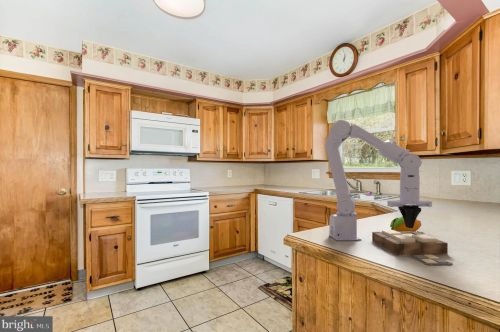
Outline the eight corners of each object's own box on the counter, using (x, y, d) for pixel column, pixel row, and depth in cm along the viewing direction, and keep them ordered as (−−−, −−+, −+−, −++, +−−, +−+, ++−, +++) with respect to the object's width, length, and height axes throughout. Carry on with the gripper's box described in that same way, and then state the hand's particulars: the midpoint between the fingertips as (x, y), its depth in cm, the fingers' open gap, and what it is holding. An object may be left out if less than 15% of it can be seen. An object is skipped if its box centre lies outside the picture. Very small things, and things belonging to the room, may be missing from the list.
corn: (385, 216, 98) (409, 211, 109) (384, 235, 99) (408, 228, 110) (405, 220, 92) (429, 214, 103) (404, 241, 92) (427, 233, 104)
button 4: (421, 245, 78) (421, 238, 78) (411, 240, 83) (411, 234, 83) (435, 244, 79) (435, 238, 79) (424, 240, 83) (424, 234, 83)
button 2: (401, 245, 78) (401, 238, 78) (392, 241, 82) (392, 235, 82) (415, 245, 78) (415, 238, 78) (406, 241, 83) (405, 234, 83)
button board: (396, 255, 76) (396, 243, 76) (372, 241, 90) (372, 232, 90) (447, 254, 77) (447, 243, 77) (415, 241, 91) (415, 231, 91)
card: (427, 265, 69) (427, 263, 69) (410, 256, 76) (410, 254, 76) (452, 265, 69) (452, 262, 69) (432, 256, 76) (432, 254, 76)
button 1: (389, 239, 84) (389, 233, 84) (381, 235, 89) (381, 230, 89) (402, 239, 85) (402, 233, 85) (393, 235, 89) (393, 230, 89)
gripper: (396, 189, 83) (396, 230, 83) (439, 189, 83) (438, 230, 83) (383, 187, 90) (383, 225, 90) (423, 187, 91) (423, 225, 91)
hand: (409, 227), depth 87 cm, fingers closed
